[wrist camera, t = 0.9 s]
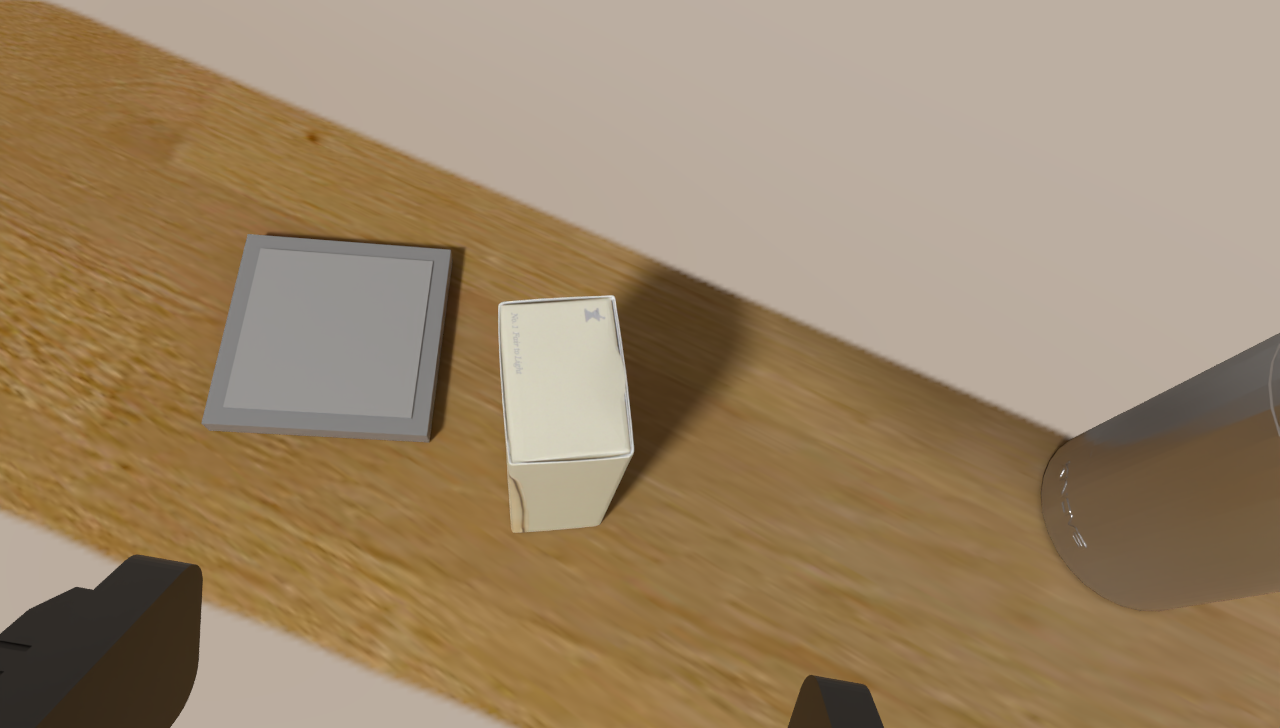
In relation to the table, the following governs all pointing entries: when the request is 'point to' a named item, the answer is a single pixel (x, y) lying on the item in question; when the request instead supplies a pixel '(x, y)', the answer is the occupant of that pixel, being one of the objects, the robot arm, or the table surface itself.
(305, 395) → the plate
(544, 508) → the skincare box
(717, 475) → the table surface
